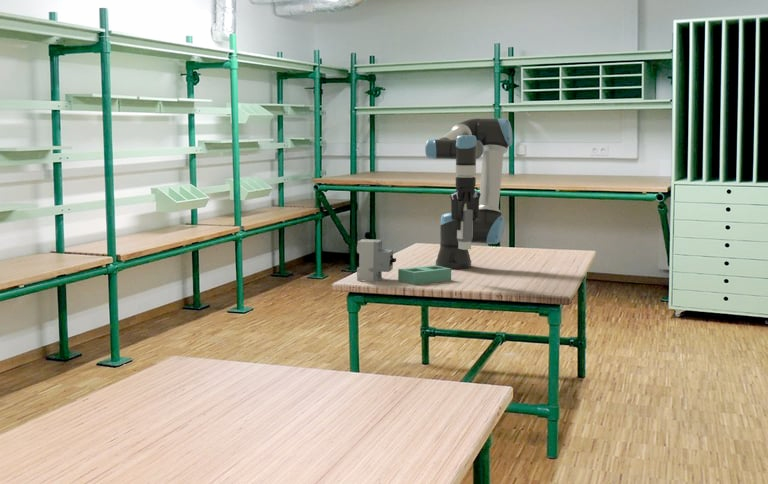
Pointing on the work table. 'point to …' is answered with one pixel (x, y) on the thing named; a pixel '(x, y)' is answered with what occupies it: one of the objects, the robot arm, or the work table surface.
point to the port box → (424, 274)
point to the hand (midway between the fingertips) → (464, 237)
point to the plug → (466, 230)
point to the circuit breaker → (373, 260)
